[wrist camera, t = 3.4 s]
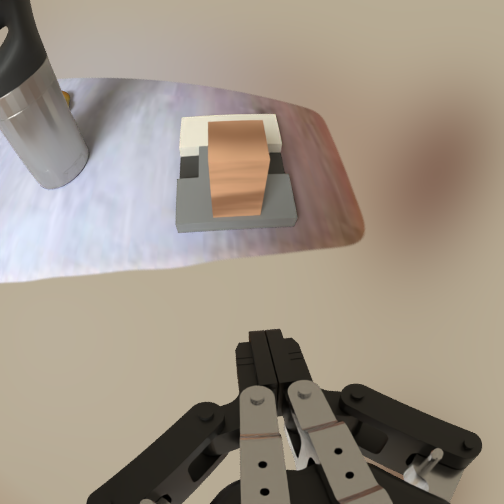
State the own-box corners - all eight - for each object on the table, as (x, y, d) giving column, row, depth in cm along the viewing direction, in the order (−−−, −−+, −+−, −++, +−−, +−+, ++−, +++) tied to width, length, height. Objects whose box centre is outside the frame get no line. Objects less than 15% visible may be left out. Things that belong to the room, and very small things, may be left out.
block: (260, 215, 32) (270, 159, 23) (213, 217, 31) (208, 162, 23) (255, 177, 34) (262, 120, 25) (211, 180, 33) (207, 121, 25)
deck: (294, 226, 34) (297, 217, 32) (178, 232, 32) (175, 224, 31) (280, 153, 38) (282, 143, 36) (181, 158, 37) (179, 147, 35)
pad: (280, 153, 38) (282, 143, 36) (181, 158, 37) (179, 148, 35) (273, 124, 40) (275, 114, 39) (183, 127, 39) (181, 117, 37)
